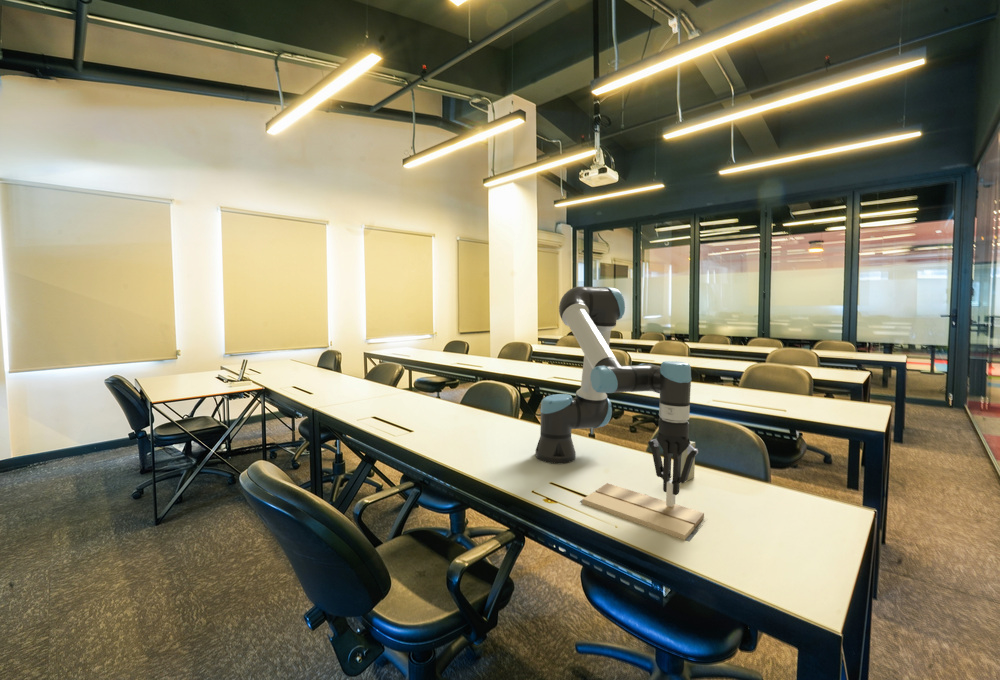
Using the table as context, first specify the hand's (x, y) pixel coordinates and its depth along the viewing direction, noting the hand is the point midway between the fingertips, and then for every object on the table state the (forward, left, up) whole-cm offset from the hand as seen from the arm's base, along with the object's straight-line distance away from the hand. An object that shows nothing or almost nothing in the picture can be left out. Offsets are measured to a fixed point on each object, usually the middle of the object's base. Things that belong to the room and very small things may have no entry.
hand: (670, 504), depth 114 cm
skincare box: (-6, +29, -3) cm, 30 cm away
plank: (-6, -1, -2) cm, 6 cm away
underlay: (-6, -5, -3) cm, 8 cm away
